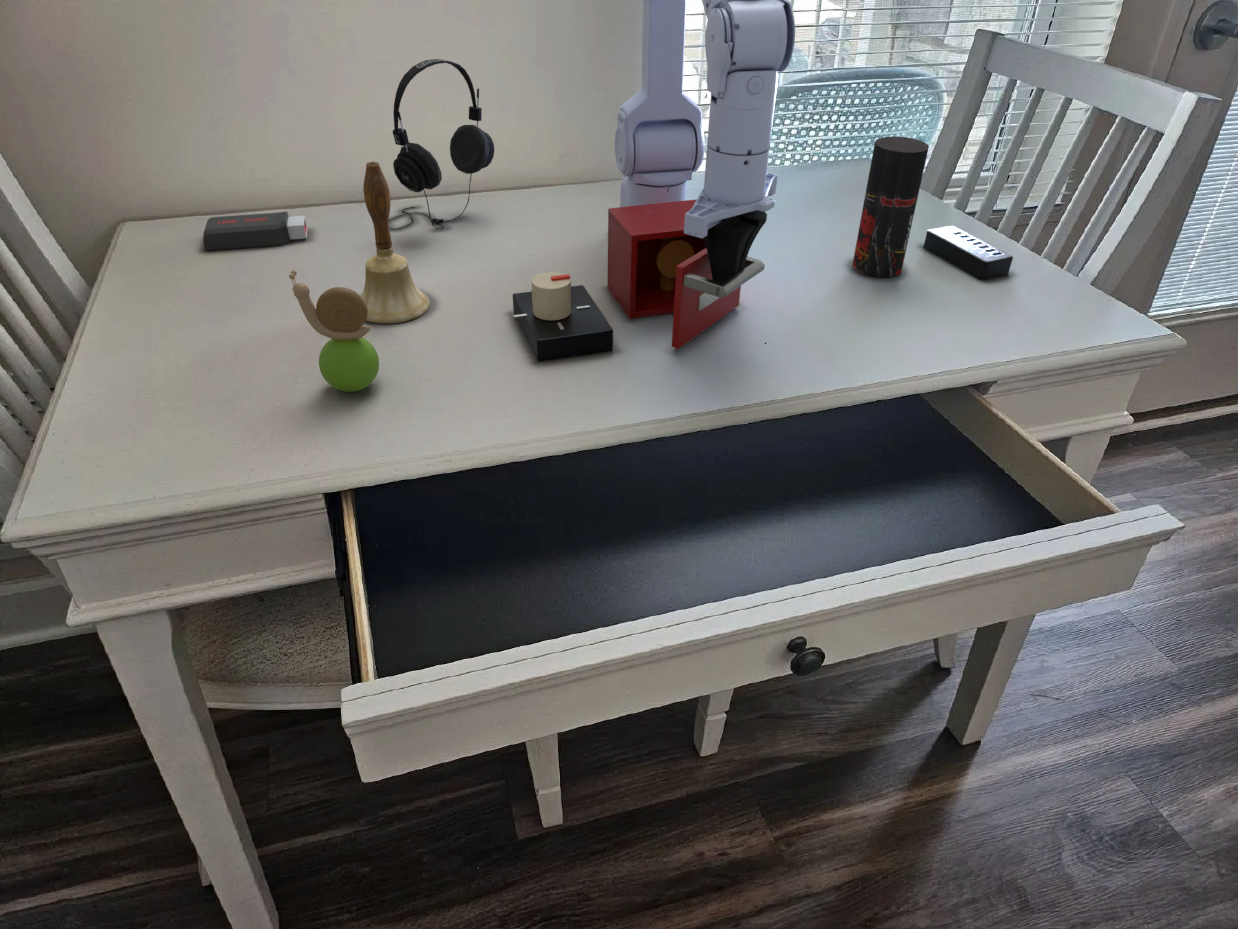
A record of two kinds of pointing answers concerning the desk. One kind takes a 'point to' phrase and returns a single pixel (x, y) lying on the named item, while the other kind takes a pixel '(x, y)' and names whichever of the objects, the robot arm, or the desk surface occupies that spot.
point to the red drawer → (705, 295)
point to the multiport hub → (968, 252)
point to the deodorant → (889, 206)
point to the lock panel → (564, 328)
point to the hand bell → (387, 262)
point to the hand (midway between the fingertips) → (725, 282)
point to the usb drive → (253, 230)
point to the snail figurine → (341, 336)
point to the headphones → (466, 145)
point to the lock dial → (551, 296)
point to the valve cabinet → (648, 255)
